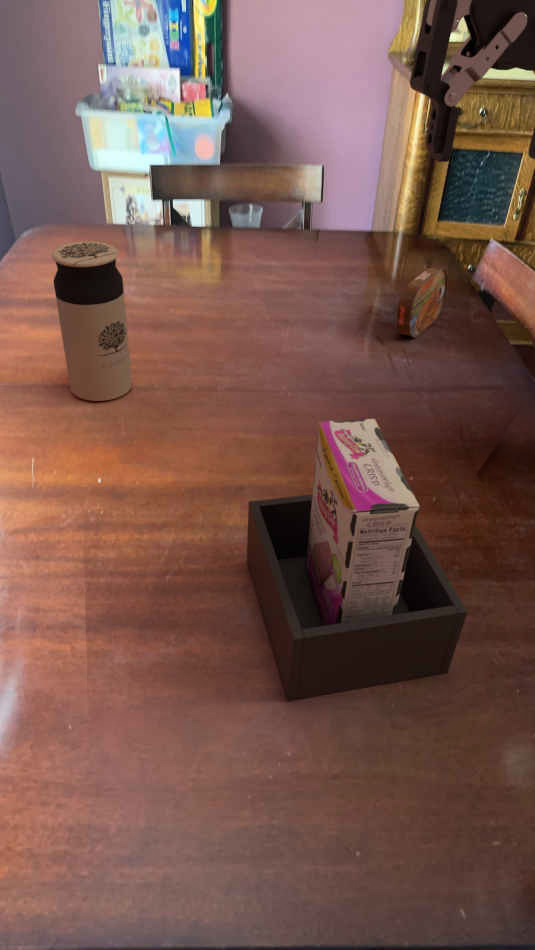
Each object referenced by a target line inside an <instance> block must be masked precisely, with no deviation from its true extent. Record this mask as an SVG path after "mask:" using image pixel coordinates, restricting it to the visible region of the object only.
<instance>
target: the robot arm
mask: <svg viewBox="0 0 535 950" xmlns="http://www.w3.org/2000/svg"><path fill="white" fill-rule="evenodd" d="M462 19H463V20H464V23H465V25H466V28H467V30H468V34H469V36H467V38H466V39H465V41H464V42H462V44H461V46H459V48H458V49H457V50H456V52H455V53H454V54H453V56H452V57H451V58H450V61H449V65H448V67H447V68H446V69H445V70H444V66H445V61H446V58H447V52H448V50H449V49H448V48H449V44H450V40H451V39H450V38H451V35H452V33H454V32H455V31H456V30H457V29H458V28H459V25H460V22H461V21H462ZM420 23H421V24H420V28H419V33H418V38H417V43H416V48H415V53H414V58H413V63H412V69H411V73H410V79H409V86H410V89H412V91H415V92H417V93H419V94H421V95H423V96H425V97H427V98H428V100H429V101H430V105H431V106H430V111H429V112H430V113H429V120H428V124H427V131H426V137H425V147H426V150H427V151H429V156H430V158H431V159H433V160H435V161H436V162H438V163H445V162H446V163H448V162H449V161H451V157H452V152H453V147H454V141H455V136H456V131H457V125H458V121H459V116H460V110H461V109H460V108H461V107H459V106H457V105H458V103H459V102H460V101H461V100H462V99H463V97H464V96H465V95H466V94H467V92H468V91H469V90H470V88H471V87H472V86H473V85H474V84H475V83H476V82H478V81H480V80H482V79H483V78H484V77H485V75H486V74H487V73H488V72H489V71H490V69H493V70H496V71H509V70H513V69H516V68H517V69H519V70H524V71H527V72H529V71H530V72H532V73H533V74H534V75H535V0H425V3H424V8H423V14H422V18H421V22H420ZM443 70H444V71H443ZM527 152H528V157H529V158H531V159H533V160H535V126H534V127H533V130H532V135H531V139H530V143H529V147H528V151H527Z"/></svg>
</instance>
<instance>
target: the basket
mask: <svg viewBox="0 0 535 950" xmlns="http://www.w3.org/2000/svg"><path fill="white" fill-rule="evenodd" d="M311 506H312V494H303V495H293V496H285V497H277V498H269V499H267V498H266V499H261V500H260V499H259V500H250V501H248V511H247V513H248V514H247V537H246V539H247V542H246V563H247V564H246V565H247V568H248V571H249V574H250V578H251V581H252V586H253V588H254V592H255V595H256V599H257V602H258V605H259V609H260V613H261V616H262V619H263V623H264V626H265V630H266V633H267V636H268V640H269V644H270V647H271V650H272V653H273V657H274V660H275V664H276V667H277V671H278V674H279V678H280V681H281V684H282V687H283V691H284V695H285V698H286V701H287V702H292V701H298V700H303V699H308V698H314V697H321V696H325V695H331V694H337V693H342V692H347V691H353V690H359V689H364V688H369V687H375V686H381V685H386V684H387V685H388V684H393V683H397V682H403V681H408V680H414V679H419V678H420V679H421V678H426V677H431V676H437V675H442V674H447V673H449V669H450V666H451V664H452V660H453V657H454V654H455V651H456V648H457V645H458V642H459V639H460V636H461V633H462V631H463V627H464V625H465V621H466V619H467V616H468V613H469V611H468V609H467V607H466V605H465V604H464V603H463V601H462V599H461V598H460V596H459V594H458V593H457V591H456V589H455V588H454V586H453V584H452V583H451V581H450V579H449V578H448V576H447V574H446V573H445V571H444V569H443V567H442V566H441V564H440V563H439V561H438V559H437V558H436V556H435V555H434V553H433V551H432V550H431V548H430V546H429V545H428V543H427V541H426V540H425V538H424V536H423V535H422V533H421V531H420V530H419V528H418V526H417V524H415V527H414V531H413V536H412V541H411V545H410V550H409V555H408V559H407V563H406V568H405V572H404V577H403V582H402V585H401V590H400V595H399V599H398V603H397V607H396V612H395V615H389V616H383V617H377V618H370V619H364V620H358V621H351V622H345V623H339V624H332V625H326V626H323V622H322V619H321V615H320V612H319V609H318V605H317V602H316V598H315V595H314V591H313V588H312V585H311V582H310V578H309V575H308V572H307V568H306V557H307V548H308V536H309V526H310V514H311Z"/></svg>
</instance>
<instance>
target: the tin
mask: <svg viewBox="0 0 535 950" xmlns="http://www.w3.org/2000/svg"><path fill="white" fill-rule="evenodd" d="M448 282H449V277H448V271H447V270H446V269H445V268H442V269H440V268H434V267H428V268H426V269H425V270H422V271H421V273H419V274H418V275H416V276H415V277H414V278H413V279H412V280H410V281H409V282H408V283H407V284H406V285H405V286H404V288H403V290H402V292H401V293H400V297H399V299H398V303H397V313H396V323H395V328H396V331H397V333H399V334H401V335H404V336H408V337H411V338H414V339H415V338H418V337H419V336H420V335H421V334H422V333H423V332H424V331H425V330H426V329H427V328H428V327H430V326H431V325H432V324H433V323H434V322H435V321H436V320H437V319H438V317H439V316H440V314H441V311H442V309H443V306H444V303H445V300H446V296H447V291H448V284H449V283H448Z"/></svg>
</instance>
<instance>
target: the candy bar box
mask: <svg viewBox="0 0 535 950" xmlns="http://www.w3.org/2000/svg"><path fill="white" fill-rule="evenodd" d="M317 424H318V427H317V428H318V429H317V438H316V449H315V458H314V459H315V461H314V471H313V482H312V483H313V484H312V506H311V514H310V526H309V536H308V548H307V557H306V568H307V572H308V575H309V578H310V582H311V585H312V588H313V591H314V595H315V598H316V602H317V605H318V609H319V612H320V615H321V619H322V622H323V626H326V625H332V624H339V623H345V622H351V621H358V620H364V619H370V618H377V617H383V616H389V615H395V612H396V607H397V603H398V599H399V595H400V590H401V585H402V582H403V577H404V572H405V568H406V563H407V559H408V555H409V550H410V545H411V541H412V536H413V531H414V527H415V525H416V524H417V523H416V522H417V520H418V519H417V518H418V513H419V509H420V508H421V507H420V505H419V501H418V500H417V499H416V496H415V495H414V493H413V491H412V489H411V487H410V485H409V483H408V481H407V479H406V477H405V475H404V473H403V471H402V469H401V467H400V465H399V464H398V461H397V460H396V458H395V456H394V453H393V451H392V450H391V449H392V448H391V447H390V446H389V444H388V441H387V440H386V438H385V436H384V434H383V432H382V431H381V428H380V427H379V425H378V423H377V421H376V418H366V419H365V418H364V419H346V420H339V421H338V420H333V419H332V420H325V421H321V422H318V423H317Z"/></svg>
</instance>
